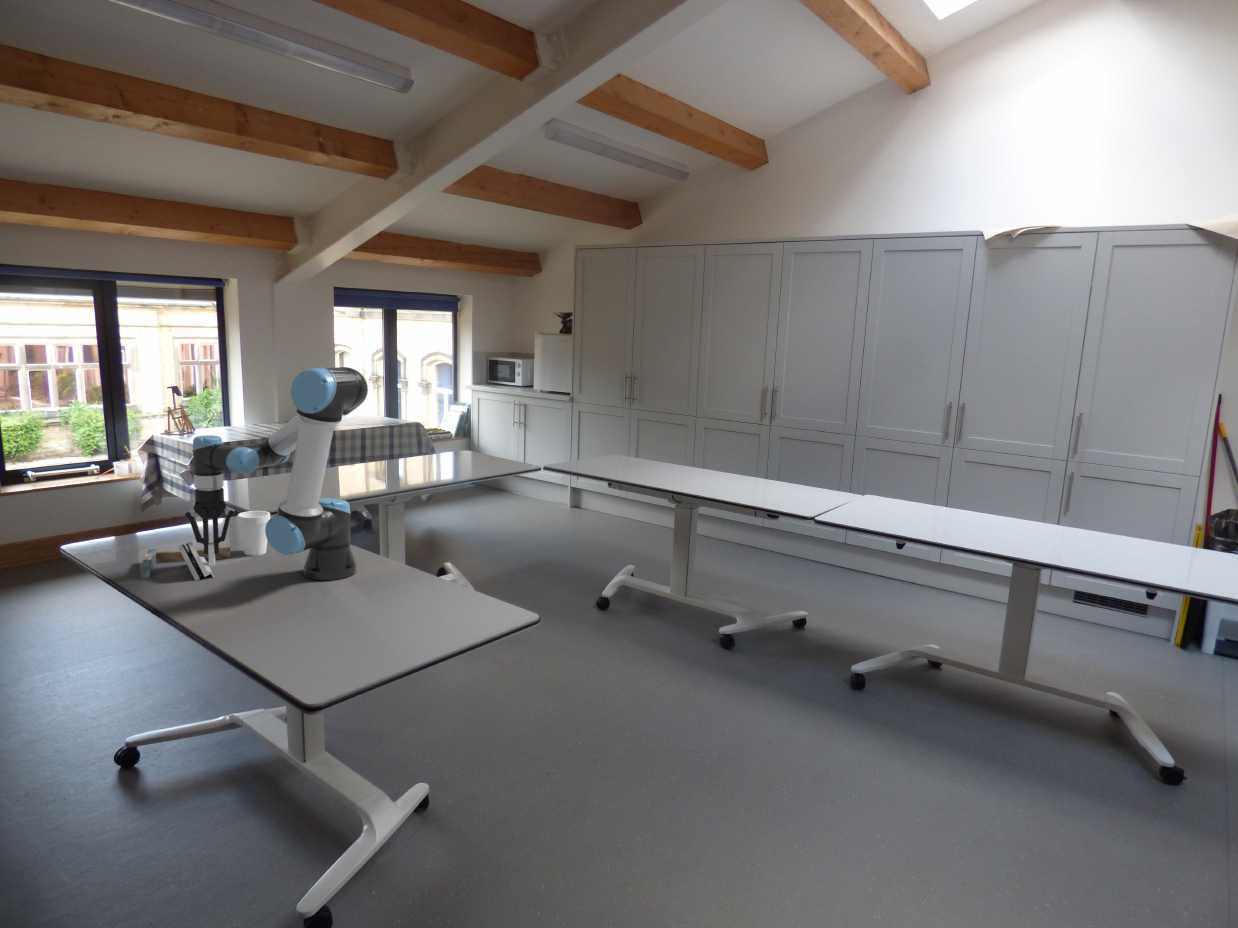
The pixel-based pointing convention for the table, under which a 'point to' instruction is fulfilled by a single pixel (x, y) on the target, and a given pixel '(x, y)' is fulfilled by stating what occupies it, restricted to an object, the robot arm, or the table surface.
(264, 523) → the foam cup
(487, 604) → the table surface
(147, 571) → the wooden handled mallet
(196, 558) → the white piece
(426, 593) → the table surface
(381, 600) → the table surface
